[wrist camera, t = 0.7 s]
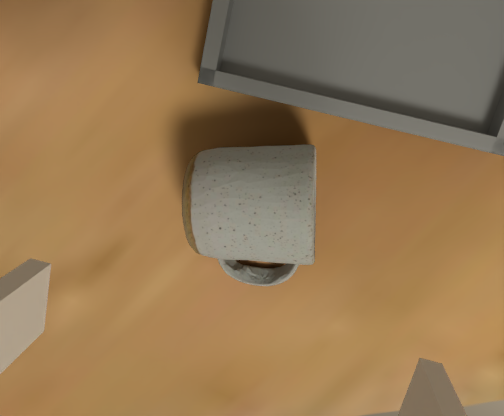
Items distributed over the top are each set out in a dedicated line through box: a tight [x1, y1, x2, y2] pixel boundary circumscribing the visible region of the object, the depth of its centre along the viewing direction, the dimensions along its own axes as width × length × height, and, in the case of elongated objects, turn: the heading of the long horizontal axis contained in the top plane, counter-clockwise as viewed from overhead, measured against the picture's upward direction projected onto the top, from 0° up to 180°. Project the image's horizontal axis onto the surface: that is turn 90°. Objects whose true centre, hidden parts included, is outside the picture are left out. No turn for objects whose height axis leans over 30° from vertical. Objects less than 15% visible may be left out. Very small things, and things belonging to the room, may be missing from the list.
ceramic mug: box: [182, 145, 316, 286], centre depth 31 cm, size 11×8×8 cm
